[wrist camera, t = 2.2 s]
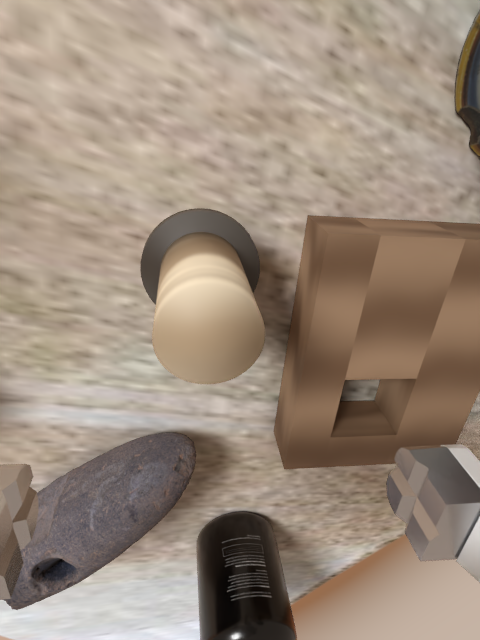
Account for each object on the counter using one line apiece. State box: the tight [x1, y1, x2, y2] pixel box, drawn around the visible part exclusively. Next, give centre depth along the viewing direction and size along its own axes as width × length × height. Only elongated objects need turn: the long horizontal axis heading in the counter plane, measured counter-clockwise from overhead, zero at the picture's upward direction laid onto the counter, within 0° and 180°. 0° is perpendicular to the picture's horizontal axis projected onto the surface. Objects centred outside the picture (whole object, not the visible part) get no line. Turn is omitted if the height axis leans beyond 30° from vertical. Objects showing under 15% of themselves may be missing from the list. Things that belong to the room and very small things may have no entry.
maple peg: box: [141, 209, 265, 384], centre depth 18 cm, size 6×6×10 cm
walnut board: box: [274, 215, 480, 469], centre depth 25 cm, size 16×12×4 cm
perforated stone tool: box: [3, 433, 196, 610], centre depth 26 cm, size 15×5×7 cm, turn 121°
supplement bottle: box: [197, 512, 297, 640], centre depth 30 cm, size 7×7×12 cm
